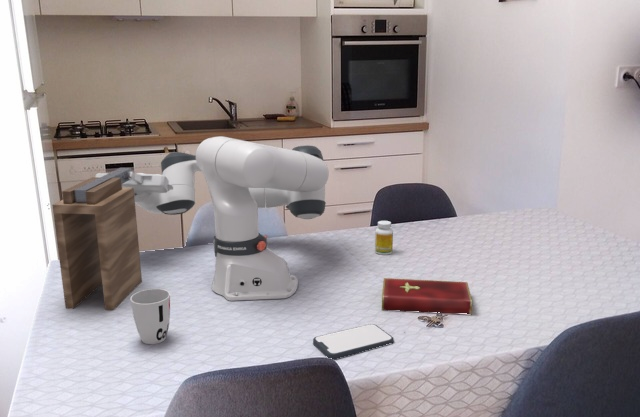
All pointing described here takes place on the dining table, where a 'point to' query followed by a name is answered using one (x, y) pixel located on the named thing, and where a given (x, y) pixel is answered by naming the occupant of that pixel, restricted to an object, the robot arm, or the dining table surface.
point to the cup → (151, 314)
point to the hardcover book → (426, 296)
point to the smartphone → (352, 341)
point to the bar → (119, 173)
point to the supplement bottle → (383, 238)
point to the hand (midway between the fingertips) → (121, 174)
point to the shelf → (98, 243)
